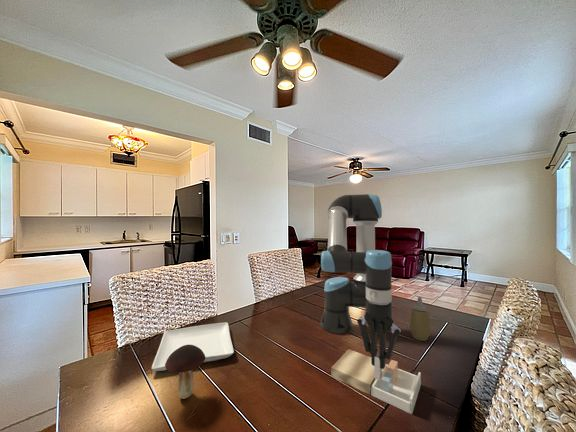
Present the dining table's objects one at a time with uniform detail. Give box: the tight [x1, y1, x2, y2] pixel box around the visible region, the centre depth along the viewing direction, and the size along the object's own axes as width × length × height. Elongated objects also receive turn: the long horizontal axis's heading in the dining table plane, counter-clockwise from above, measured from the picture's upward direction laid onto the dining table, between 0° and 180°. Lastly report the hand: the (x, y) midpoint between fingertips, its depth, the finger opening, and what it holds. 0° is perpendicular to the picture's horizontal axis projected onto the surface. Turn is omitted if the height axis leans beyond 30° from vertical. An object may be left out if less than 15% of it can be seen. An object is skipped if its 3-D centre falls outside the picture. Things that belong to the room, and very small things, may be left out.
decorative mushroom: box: [165, 345, 205, 400], centre depth 69 cm, size 11×11×15 cm
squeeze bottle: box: [409, 296, 431, 342], centre depth 103 cm, size 8×8×18 cm
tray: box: [370, 363, 422, 415], centre depth 72 cm, size 11×14×4 cm
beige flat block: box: [330, 348, 375, 395], centre depth 80 cm, size 13×14×3 cm
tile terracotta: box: [387, 359, 399, 385], centre depth 76 cm, size 5×5×2 cm
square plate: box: [151, 321, 235, 372], centre depth 95 cm, size 27×27×4 cm
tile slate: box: [382, 371, 393, 394], centre depth 70 cm, size 5×5×2 cm
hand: (378, 376), depth 72 cm, fingers closed
